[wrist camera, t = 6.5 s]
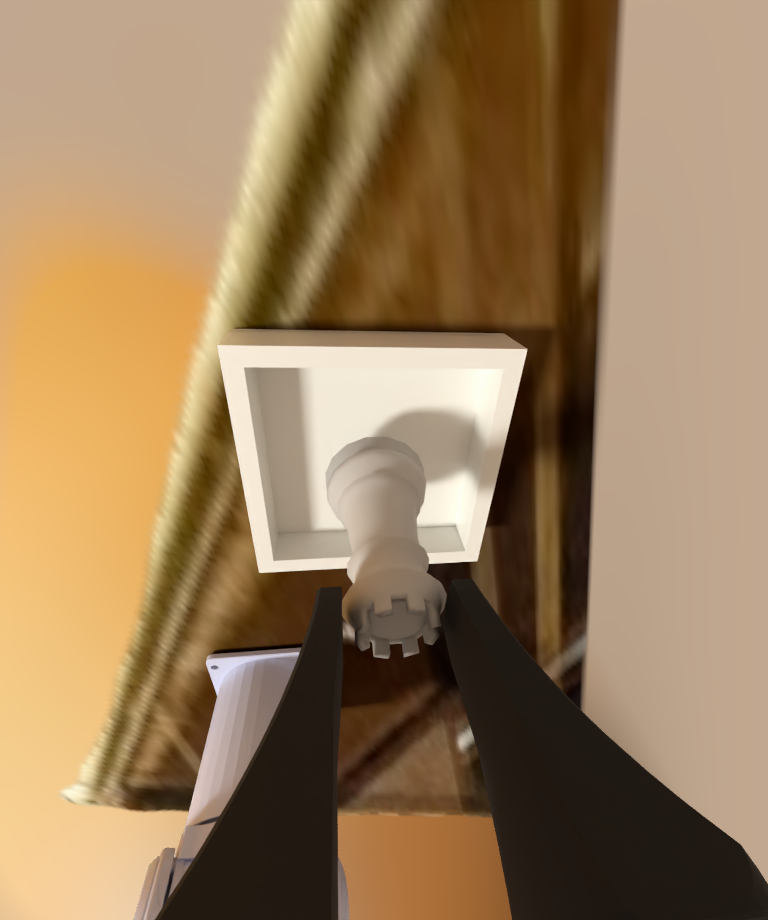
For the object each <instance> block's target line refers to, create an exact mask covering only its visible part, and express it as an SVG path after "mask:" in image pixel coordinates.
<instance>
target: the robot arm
mask: <svg viewBox="0 0 768 920" xmlns="http://www.w3.org/2000/svg"><path fill="white" fill-rule="evenodd" d="M443 626H444V632H445V637H446V643H447V647H448V652H449V657H450V661H451V664H452V668H453V671H454V674H455V678H456V681H457V684H458V688H459V691H460V694H461V697H462V700H463V704H464V707H465V710H466V713H467V717H468V720H469V723H470V726H471V730H472V733H473V736H474V739H475V743H476V747H477V750H478V754H479V758H480V762H481V766H482V771H483V775H484V780H485V784H486V789H487V793H488V798H489V803H490V807H491V812H492V817H493V822H494V827H495V831H496V836H497V841H498V846H499V851H500V856H501V862H502V867H503V872H504V877H505V882H506V887H507V892H508V898H509V904H510V909H511V915H512V920H768V884H767V882H766V881H765V879H764V878H763V876H762V874H761V873H760V871H759V870H758V868H757V867H756V865H755V864H754V863H753V861H752V860H751V859H750V857H749V856H748V854H747V853H746V852H745V850H744V849H743V847H742V846H741V845H740V844H739V843H738V842H736V841H735V840H734V839H733V838H731V837H730V836H728V835H727V834H726V833H725V832H723V831H722V830H721V829H719V828H718V827H717V826H715V825H714V824H713V823H712V822H710V821H709V820H707V819H706V818H705V817H703V816H702V815H701V814H700V813H698V812H697V811H696V810H695V809H693V808H692V807H691V806H689V805H688V804H687V803H686V802H684V801H683V800H682V799H680V798H679V797H678V796H677V795H676V794H674V793H673V792H672V791H671V790H669V789H668V788H667V787H666V786H665V785H663V784H662V783H661V782H660V781H659V780H657V779H656V778H655V777H654V776H653V775H651V774H650V773H649V772H648V771H647V770H646V769H644V768H643V767H642V766H641V765H640V764H639V763H638V762H636V761H635V760H634V759H633V758H632V757H631V756H630V755H629V754H627V753H626V752H625V751H624V750H623V749H622V748H621V747H619V746H618V745H617V744H616V743H615V742H614V741H613V740H612V739H611V738H609V737H608V736H607V735H606V734H605V733H604V732H603V731H602V730H601V729H600V728H599V727H598V726H597V725H596V724H594V723H593V722H592V721H591V720H590V719H589V718H588V717H587V716H586V715H585V714H584V713H583V712H582V711H581V710H580V709H579V708H578V707H577V706H576V705H575V704H574V703H573V702H572V701H571V700H570V699H569V698H568V697H567V696H566V695H565V694H564V693H563V691H562V690H561V689H560V688H559V687H558V686H557V685H556V684H555V683H554V682H553V681H552V680H551V679H550V677H549V676H548V675H547V674H546V673H545V672H544V671H543V670H542V668H541V667H540V666H539V665H538V664H537V663H536V662H535V660H534V659H533V658H532V657H531V656H530V655H529V653H528V652H527V651H526V650H525V649H524V647H523V646H522V645H521V644H520V642H519V641H518V640H517V639H516V637H515V636H514V635H513V634H512V633H511V631H510V630H509V629H508V627H507V626H506V625H505V624H504V622H503V621H502V620H501V618H500V617H499V616H498V614H497V613H496V612H495V610H494V609H493V608H492V606H491V605H490V604H489V602H488V601H487V599H486V598H485V597H484V595H483V594H482V592H481V591H480V590H479V588H478V587H477V585H476V584H475V582H474V581H473V580H472V579H464V580H451V585H450V590H449V595H448V600H447V605H446V610H445V615H444V620H443ZM206 665H207V668H208V671H209V673H210V676H211V679H212V682H213V685H214V688H215V691H216V693H217V700H216V704H215V709H214V713H213V717H212V721H211V725H210V729H209V733H208V737H207V741H206V745H205V749H204V753H203V757H202V761H201V765H200V769H199V773H198V777H197V781H196V786H195V790H194V794H193V798H192V802H191V806H190V810H189V814H188V818H187V822H186V826H185V829H184V831H183V834H182V837H181V840H180V843H179V846H178V849H177V851H176V854H175V848H165V849H164V850H163V851H162V853H161V856H158V857H157V858H156V859H155V860H154V861H153V862H152V863H151V864H150V865H149V868H148V871H147V874H146V878H145V881H144V885H143V888H142V891H141V895H140V899H139V902H138V906H137V909H136V912H135V916H134V919H133V920H349V901H348V890H347V883H346V877H345V873H344V869H343V866H342V864H341V862H340V860H339V858H338V831H337V830H338V827H337V826H338V824H337V763H338V743H339V728H340V712H341V696H342V680H343V627H342V587H327V588H320V589H318V590H317V592H316V598H315V603H314V608H313V612H312V616H311V620H310V623H309V626H308V629H307V633H306V636H305V639H304V642H303V644H302V647H300V648H287V649H274V650H261V651H248V652H235V653H221V654H212V655H209V656H208V657H207V660H206ZM174 854H175V857H174Z"/></svg>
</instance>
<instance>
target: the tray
mask: <svg viewBox="0 0 768 920" xmlns="http://www.w3.org/2000/svg"><path fill="white" fill-rule="evenodd" d="M217 347H218V352H219V358H220V363H221V369H222V374H223V379H224V385H225V390H226V396H227V401H228V406H229V412H230V417H231V423H232V428H233V434H234V439H235V444H236V450H237V455H238V461H239V466H240V472H241V477H242V482H243V488H244V493H245V499H246V504H247V509H248V515H249V520H250V526H251V531H252V537H253V542H254V547H255V553H256V558H257V564H258V569H259V573H264V572H282V571H301V570H320V569H339V568H347V563H348V562H349V560H350V558H351V556H352V548H351V544H350V540H349V535H348V531H347V529H346V528H344V526H343V524H342V523H341V521H340V520H338V519H337V517H336V515H335V514H334V512H333V511H332V509H331V507H330V505H329V503H328V499H327V489H326V475H325V473H326V471H327V468H328V466H329V464H330V462H331V459H332V457H333V456H334V455H336V454H337V453H338V452H339V451H340V450H341V449H342V448H343V447H344V446H346V445H347V444H349V443H352V442H355V441H357V440H360V439H362V438H365V437H389V438H392V439H395V440H398V441H401V442H404V443H406V444H407V445H408V446H409V447H410V448H411V449H412V450H414V451H415V452H416V453H417V454H418V455H419V458H420V460H421V463H422V466H423V468H424V477H425V479H426V490H425V498H424V503H423V505H422V506H421V508H420V513H419V515H418V517H417V532H418V541H419V545H420V546H422V547H423V548H424V549H425V551H426V553H427V555H428V557H429V564H432V563H451V562H470V561H477V560H478V555H479V551H480V547H481V543H482V539H483V534H484V530H485V526H486V522H487V518H488V513H489V509H490V505H491V501H492V497H493V492H494V488H495V484H496V480H497V476H498V471H499V467H500V463H501V459H502V455H503V450H504V446H505V442H506V438H507V434H508V429H509V425H510V421H511V417H512V413H513V408H514V404H515V400H516V396H517V392H518V387H519V383H520V379H521V375H522V371H523V366H524V362H525V358H526V354H527V350H528V349H527V348H525V347H524V346H522V345H521V344H519V343H518V342H516V341H515V340H513V339H512V338H510V337H509V336H507V335H506V334H504V333H457V332H399V331H341V330H283V329H232V330H231V331H230V332H229V333H228V334H227V335H226V337H225V338H224V339H223V340H222V341H221V342H220V343H219V344H218V345H217Z"/></svg>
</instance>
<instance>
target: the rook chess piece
mask: <svg viewBox="0 0 768 920" xmlns="http://www.w3.org/2000/svg"><path fill="white" fill-rule="evenodd" d="M325 475H326V489H327V499H328V503H329V505H330V507H331V509H332V511H333V512H334V514H335V515H336V517H337V519H338V520H340V521H341V523H342V524H343V526H344V528H346V529H347V531H348V535H349V540H350V544H351V548H352V556H351V558H350V560H349V562H348V563H347V574H348V577H349V578H350V579H351V581H352V582H353V585H352V586H351V587H350V588H349V590H348V592H347V593H346V595H345V597H344V598H343V600H342V617H343V618H344V619H345V620H346V622H347V623H348V624H349V626H350V627H351V628H352V629H353V630H354V631H355V643H356V644H357V646H358V647H359V648H360V650H361V651H364V650H366V649H368V648H370V642H372V646H373V657H378V658H385V659H388V658H389V656H390V654H391V653H390V645H389V644H400V643H402V649H403V654H404V657H408V656H411V655H414V654H417V653H419V647H418V642H417V638H419V637H420V636H422V635H423V638H424V643H426V644H429V645H433V643H434V642H435V641H436V640H437V639H438V638H439V636H440V635H439V631H438V627H439V626H442V625H441V621H440V617H439V616H440V614H441V613H442V611H443V609H444V606H445V601H446V592H445V590H444V588H443V586H442V584H441V582H439V581H438V580H436V579H435V578H433V577H432V576H431V575H429V574H428V573H426V572H427V570H428V565H429V557H428V555H427V553H426V551H425V549H424V548H423V547H422V546H420V545H419V541H418V532H417V517H418V515H419V513H420V508H421V506H422V505H423V503H424V498H425V490H426V479H425V477H424V468H423V466H422V463H421V460H420V458H419V455H418V454H417V453H416V452H415V451H414V450H412V449H411V448H410V447H409V446H408V445H407V444H406V443H404V442H401V441H398V440H395V439H392V438H389V437H365V438H362V439H360V440H357V441H355V442H352V443H349V444H347V445H346V446H344V447H343V448H342V449H341V450H340V451H339V452H338V453H337V454H336V455H334V456H333V457H332V459H331V462H330V464H329V466H328V468H327V471H326V473H325Z"/></svg>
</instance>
